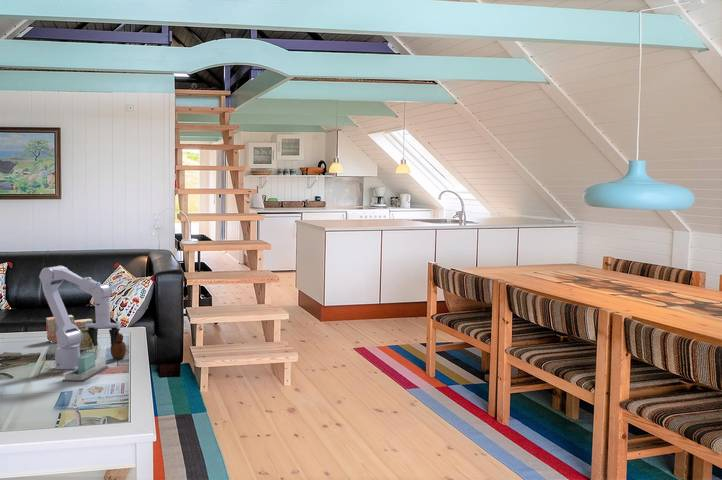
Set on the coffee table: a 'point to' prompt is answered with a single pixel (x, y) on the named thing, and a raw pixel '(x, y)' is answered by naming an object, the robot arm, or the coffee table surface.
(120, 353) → the wooden figurine
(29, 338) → the coffee table surface
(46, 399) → the coffee table surface
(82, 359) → the door panel
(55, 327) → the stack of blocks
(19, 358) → the coffee table surface
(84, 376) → the track
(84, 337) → the ceramic cup
